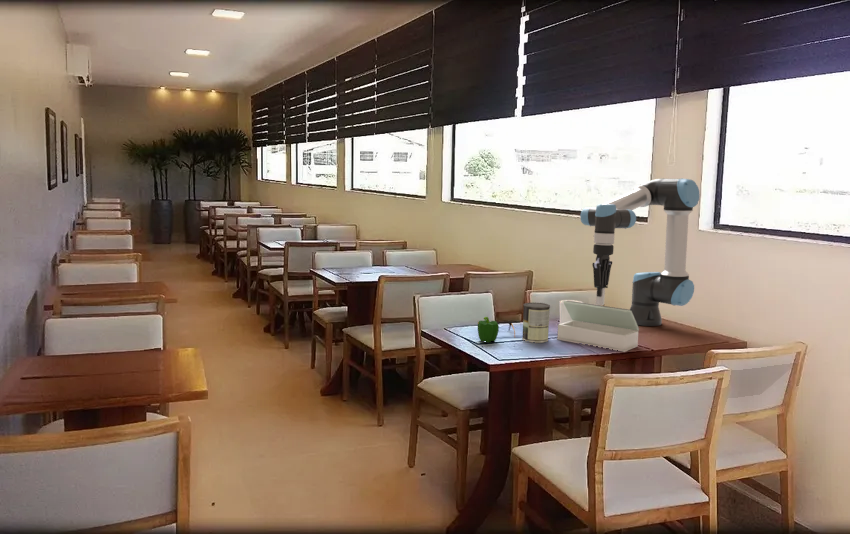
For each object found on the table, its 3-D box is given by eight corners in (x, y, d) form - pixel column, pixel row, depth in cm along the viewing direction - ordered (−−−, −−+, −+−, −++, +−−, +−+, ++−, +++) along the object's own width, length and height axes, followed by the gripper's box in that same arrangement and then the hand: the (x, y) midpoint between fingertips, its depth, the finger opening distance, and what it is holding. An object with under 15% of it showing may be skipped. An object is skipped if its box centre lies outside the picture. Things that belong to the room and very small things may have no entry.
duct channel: (571, 334, 281) (572, 320, 280) (637, 346, 263) (638, 331, 263) (557, 339, 272) (558, 324, 271) (624, 351, 254) (625, 336, 253)
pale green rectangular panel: (572, 320, 280) (573, 317, 281) (638, 330, 263) (639, 328, 263) (563, 302, 273) (564, 300, 273) (630, 312, 255) (631, 309, 256)
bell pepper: (488, 338, 271) (489, 313, 270) (502, 342, 264) (503, 317, 263) (471, 340, 267) (472, 315, 265) (485, 344, 260) (486, 319, 259)
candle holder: (574, 326, 296) (575, 299, 295) (586, 331, 287) (587, 303, 286) (553, 327, 293) (555, 300, 292) (565, 332, 284) (566, 304, 283)
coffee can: (516, 339, 270) (518, 304, 268) (532, 335, 277) (533, 301, 276) (537, 344, 263) (539, 308, 261) (553, 340, 270) (555, 305, 268)
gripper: (602, 242, 271) (598, 301, 274) (587, 244, 261) (583, 305, 264) (620, 244, 266) (616, 303, 269) (605, 245, 256) (601, 307, 259)
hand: (599, 304), depth 266 cm, fingers closed
